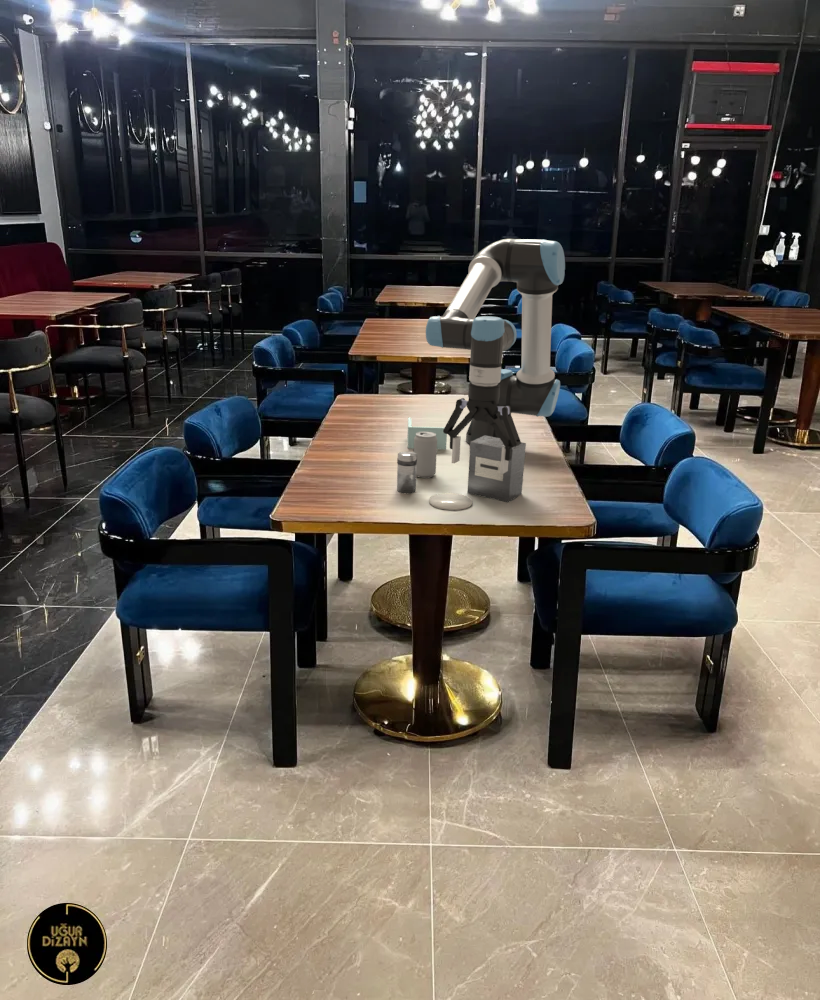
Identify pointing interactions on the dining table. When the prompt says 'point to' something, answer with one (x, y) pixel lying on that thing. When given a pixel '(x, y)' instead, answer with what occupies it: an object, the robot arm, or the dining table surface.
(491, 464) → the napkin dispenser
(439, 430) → the l-shaped corner panel
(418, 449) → the beverage can
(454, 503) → the stone coaster
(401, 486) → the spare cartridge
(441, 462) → the dining table surface
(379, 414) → the dining table surface
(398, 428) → the dining table surface
